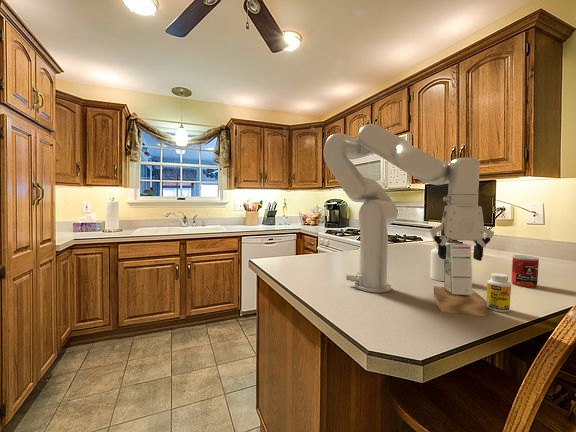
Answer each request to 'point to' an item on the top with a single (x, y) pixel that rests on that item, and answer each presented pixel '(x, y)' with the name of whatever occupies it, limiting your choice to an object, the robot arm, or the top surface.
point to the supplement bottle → (498, 293)
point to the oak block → (460, 302)
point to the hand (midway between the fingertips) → (459, 259)
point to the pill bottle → (436, 265)
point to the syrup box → (458, 269)
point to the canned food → (525, 271)
